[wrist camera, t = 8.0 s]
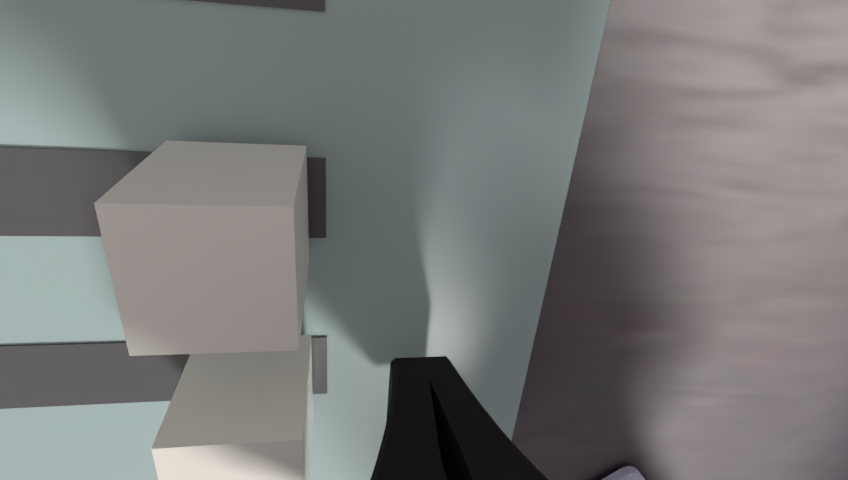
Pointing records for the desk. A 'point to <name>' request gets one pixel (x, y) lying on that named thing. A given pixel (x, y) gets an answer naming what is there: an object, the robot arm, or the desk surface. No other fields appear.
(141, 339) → the tab
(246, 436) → the tab
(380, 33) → the switch board
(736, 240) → the desk surface
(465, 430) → the robot arm
